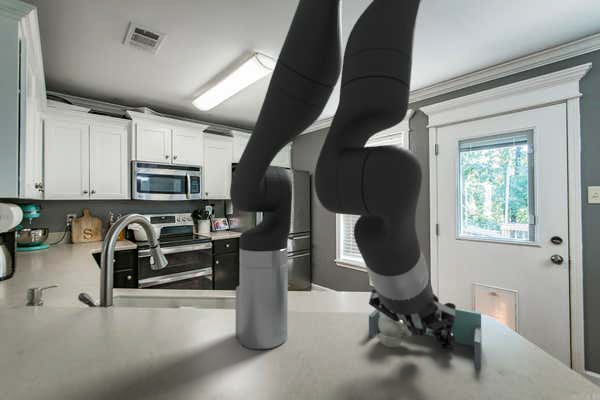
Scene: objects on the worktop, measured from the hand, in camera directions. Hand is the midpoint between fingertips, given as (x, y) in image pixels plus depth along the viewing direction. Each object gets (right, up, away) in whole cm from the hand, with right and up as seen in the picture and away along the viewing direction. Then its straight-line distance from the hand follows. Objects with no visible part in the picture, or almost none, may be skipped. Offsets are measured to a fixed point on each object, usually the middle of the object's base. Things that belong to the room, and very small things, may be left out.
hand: (418, 330), depth 46 cm
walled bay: (+3, -4, +4) cm, 6 cm away
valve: (0, -4, +3) cm, 5 cm away
